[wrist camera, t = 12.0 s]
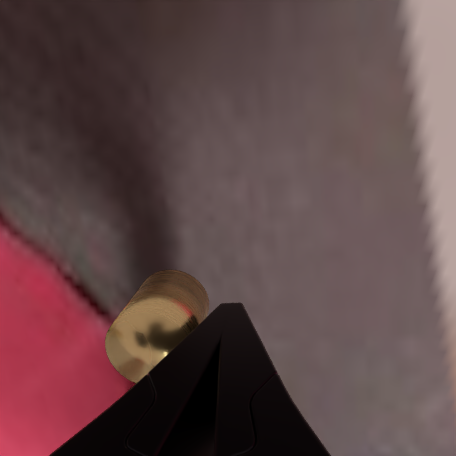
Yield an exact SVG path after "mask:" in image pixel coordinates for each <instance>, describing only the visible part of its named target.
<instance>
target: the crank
mask: <svg viewBox="0 0 456 456" xmlns="http://www.w3.org/2000/svg"><path fill="white" fill-rule="evenodd" d="M208 310H209V299H208V295H207V293H206V291H205V289H204V287H203V286H202V285H201V283H200V282H199V281H198V280H196V279H195V278H194V277H192V276H191V275H189V274H187V273H185V272H182V271H178V270H162V271H159V272H156V273H154V274H152V275H151V276H149V277H148V278H147V279H146V280H145V281H144V283H143V284H142V285H141V287H140V288H139V289H138V291H137V292H136V293H135V295H134V296H133V297H132V299H131V300H130V301H129V303H128V304H127V305H126V307H125V308H124V309H123V311H122V312H121V313H120V315H119V316H118V317H117V319H116V320H115V321H114V323H113V324H112V325H111V327H110V328H109V330H108V332H107V334H106V339H105V348H106V353H107V356H108V358H109V360H110V362H111V364H112V365H113V366H114V368H115V369H116V370H117V371H118V372H119V373H120V374H121V375H122V376H124V377H125V378H127V379H128V380H130V381H132V382H134V383H137V382H138V381H139V380H141V379H142V378H143V377H144V376H145V375H148V372H149V371H150V370H151V369H152V368H153V367H154V366H156V365H157V364H158V363H159V362H160V361H161V360H162V359H163V358H164V357H165V356H166V355H167V354H168V353H169V352H170V351H171V350H172V349H174V348H175V347H176V346H177V345H178V344H179V343H180V342H181V341H182V340H183V339H184V338H185V337H186V336H187V335H188V334H189V333H191V332H192V331H193V330H194V329H195V328H196V327H197V326H198V325H199V324H200V323H201V322H202V321H203V320H204V319H205V318H206V317H207V314H208Z"/></svg>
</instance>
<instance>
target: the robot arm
mask: <svg viewBox="0 0 456 456" xmlns="http://www.w3.org/2000/svg"><path fill="white" fill-rule="evenodd" d="M49 456H331V455H330V454H329V452H328V451H327V450H326V448H325V447H324V445H323V444H322V443H321V441H320V440H319V438H318V437H317V436H316V434H315V433H314V431H313V430H312V429H311V427H310V426H309V424H308V423H307V422H306V420H305V419H304V417H303V416H302V414H301V413H300V411H299V410H298V408H297V407H296V405H295V404H294V402H293V400H292V399H291V397H290V395H289V393H288V391H287V390H286V388H285V386H284V384H283V382H282V380H281V378H280V376H279V375H278V373H277V371H276V369H275V367H274V365H273V363H272V361H271V359H270V357H269V355H268V353H267V351H266V349H265V347H264V345H263V343H262V341H261V339H260V337H259V335H258V333H257V331H256V329H255V327H254V326H253V324H252V322H251V320H250V318H249V316H248V314H247V312H246V310H245V308H244V306H243V304H242V303H222V304H220V305H219V306H218V307H217V308H216V309H215V310H214V311H213V312H212V313H211V314H210V315H209V316H207V317H206V318H205V319H204V320H203V321H202V322H201V323H200V324H199V325H198V326H197V327H196V328H195V329H194V330H193V331H192V332H191V333H189V334H188V335H187V336H186V337H185V338H184V339H183V340H182V341H181V342H180V343H179V344H178V345H177V346H176V347H175V348H174V349H172V350H171V351H170V352H169V353H168V354H167V355H166V356H165V357H164V358H163V359H162V360H161V361H160V362H159V363H158V364H157V365H156V366H154V367H153V368H152V369H151V370H150V371H149V372H148V375H145V376H144V377H143V378H142V379H141V380H139V381H138V382H137V383H136V384H135V385H134V386H133V387H132V388H131V389H130V390H129V391H127V392H126V393H125V394H124V395H123V396H122V397H121V398H120V399H119V400H117V401H116V402H115V403H114V404H113V405H111V406H110V407H109V408H108V409H106V410H105V411H104V412H103V413H102V414H100V415H99V416H98V417H97V418H95V419H94V420H93V421H92V422H90V423H89V424H88V425H87V426H85V427H84V428H83V429H82V430H80V431H79V432H78V433H77V434H75V435H74V436H73V437H72V438H70V439H69V440H68V441H67V442H65V443H64V444H63V445H62V446H60V447H59V448H58V449H57V450H55V451H54V452H53V453H52V454H50V455H49Z"/></svg>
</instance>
